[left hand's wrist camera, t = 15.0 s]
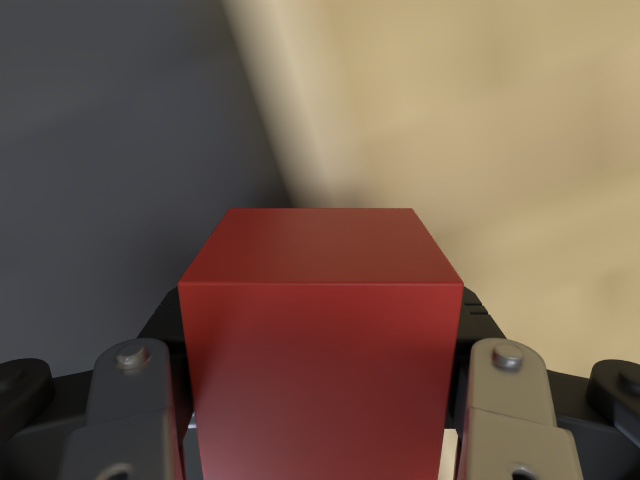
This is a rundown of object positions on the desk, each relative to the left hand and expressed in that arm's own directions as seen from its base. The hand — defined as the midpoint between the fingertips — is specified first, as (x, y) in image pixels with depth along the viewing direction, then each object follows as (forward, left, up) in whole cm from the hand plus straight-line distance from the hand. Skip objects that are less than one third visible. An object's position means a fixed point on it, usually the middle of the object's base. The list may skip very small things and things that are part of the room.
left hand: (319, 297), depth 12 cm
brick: (0, 0, -1) cm, 1 cm away
